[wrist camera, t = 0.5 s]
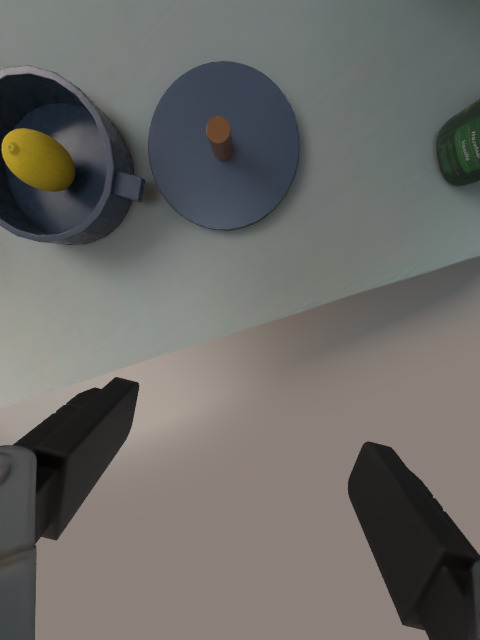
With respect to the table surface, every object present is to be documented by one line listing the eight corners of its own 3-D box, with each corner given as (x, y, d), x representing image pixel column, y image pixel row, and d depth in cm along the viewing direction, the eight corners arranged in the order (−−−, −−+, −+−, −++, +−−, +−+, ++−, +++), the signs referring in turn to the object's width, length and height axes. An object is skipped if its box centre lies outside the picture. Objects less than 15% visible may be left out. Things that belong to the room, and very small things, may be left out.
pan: (-16, 74, 31) (-69, 36, 26) (168, 126, 32) (152, 100, 26) (-23, 219, 35) (-71, 212, 29) (142, 264, 35) (124, 264, 30)
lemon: (58, 138, 32) (-4, 98, 24) (97, 169, 33) (49, 140, 25) (36, 179, 33) (-30, 153, 25) (74, 208, 34) (21, 192, 26)
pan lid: (167, 48, 30) (147, -5, 24) (317, 92, 30) (334, 51, 24) (139, 209, 34) (116, 198, 28) (273, 246, 34) (278, 243, 28)
